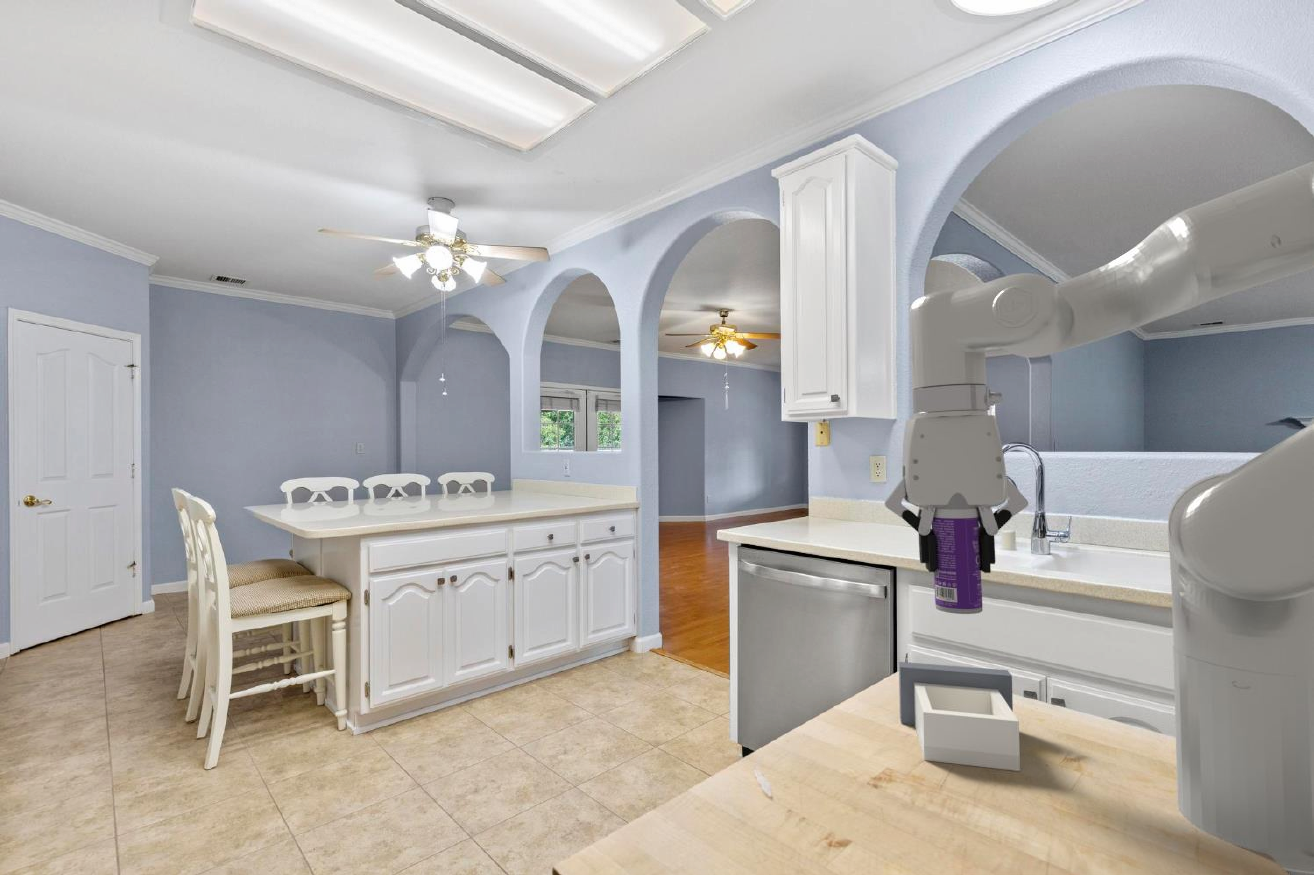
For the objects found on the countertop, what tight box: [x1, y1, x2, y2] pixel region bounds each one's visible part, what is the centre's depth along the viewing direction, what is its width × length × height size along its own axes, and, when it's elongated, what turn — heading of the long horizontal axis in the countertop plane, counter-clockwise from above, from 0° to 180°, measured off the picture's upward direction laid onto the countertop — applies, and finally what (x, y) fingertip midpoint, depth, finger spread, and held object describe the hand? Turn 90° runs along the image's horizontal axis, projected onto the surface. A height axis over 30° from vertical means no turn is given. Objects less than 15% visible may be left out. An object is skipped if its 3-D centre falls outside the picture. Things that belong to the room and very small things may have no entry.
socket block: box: [914, 683, 1021, 772], centre depth 70 cm, size 9×9×5 cm
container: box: [931, 493, 983, 615], centre depth 70 cm, size 5×5×15 cm
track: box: [898, 661, 1014, 726], centre depth 67 cm, size 12×19×8 cm, turn 164°
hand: (957, 568), depth 70 cm, fingers closed on container, 4 cm apart
